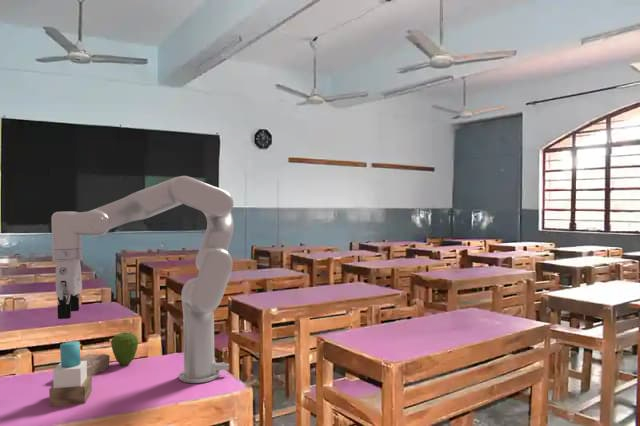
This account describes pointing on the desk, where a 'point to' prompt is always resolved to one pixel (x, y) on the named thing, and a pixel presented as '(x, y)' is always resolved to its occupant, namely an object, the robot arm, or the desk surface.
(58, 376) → the tower top
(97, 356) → the brick
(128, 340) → the green egg shape
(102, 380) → the desk surface
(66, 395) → the tower base
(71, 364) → the cylinder
